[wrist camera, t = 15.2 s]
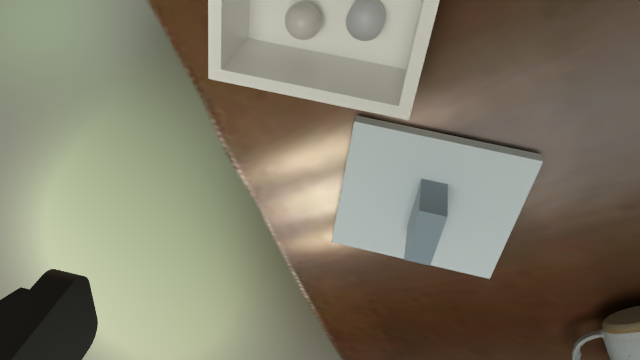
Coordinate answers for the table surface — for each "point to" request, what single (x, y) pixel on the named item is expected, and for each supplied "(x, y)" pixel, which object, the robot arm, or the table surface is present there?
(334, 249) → the table surface
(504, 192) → the lid
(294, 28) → the box
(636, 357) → the ceramic mug
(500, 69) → the table surface
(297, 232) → the table surface
